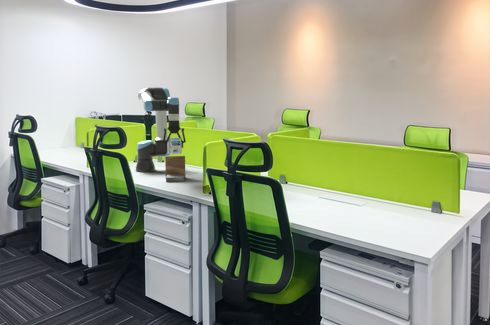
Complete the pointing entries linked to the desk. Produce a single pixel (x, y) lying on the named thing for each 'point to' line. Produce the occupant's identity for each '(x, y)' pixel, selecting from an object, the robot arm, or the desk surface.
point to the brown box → (175, 168)
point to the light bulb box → (174, 145)
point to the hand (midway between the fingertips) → (174, 152)
